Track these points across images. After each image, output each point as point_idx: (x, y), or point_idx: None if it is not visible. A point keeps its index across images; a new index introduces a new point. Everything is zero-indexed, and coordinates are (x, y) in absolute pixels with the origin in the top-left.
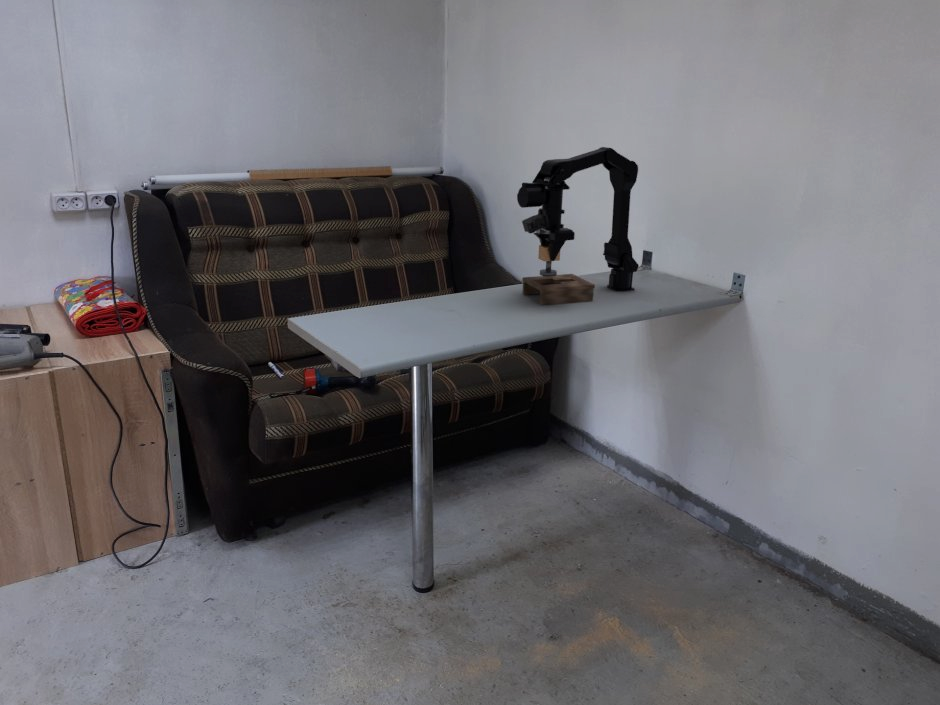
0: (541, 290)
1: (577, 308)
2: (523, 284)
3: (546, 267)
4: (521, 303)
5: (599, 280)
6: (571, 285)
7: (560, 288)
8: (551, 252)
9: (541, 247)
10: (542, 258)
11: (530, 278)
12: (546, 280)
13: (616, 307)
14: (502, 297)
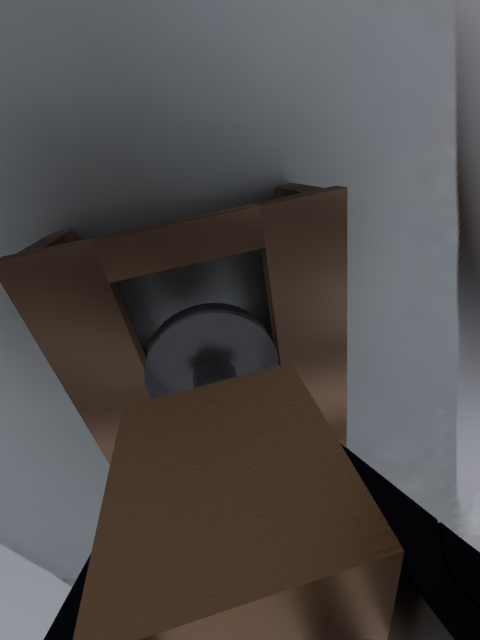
0: (17, 254)
1: (32, 389)
2: (306, 188)
3: (206, 380)
4: (97, 119)
5: (395, 481)
6: (115, 436)
7: (63, 377)
8: (63, 609)
9: (261, 560)
10: (177, 410)
11: (305, 240)
12: (274, 333)
13: (72, 500)
14: (248, 13)
